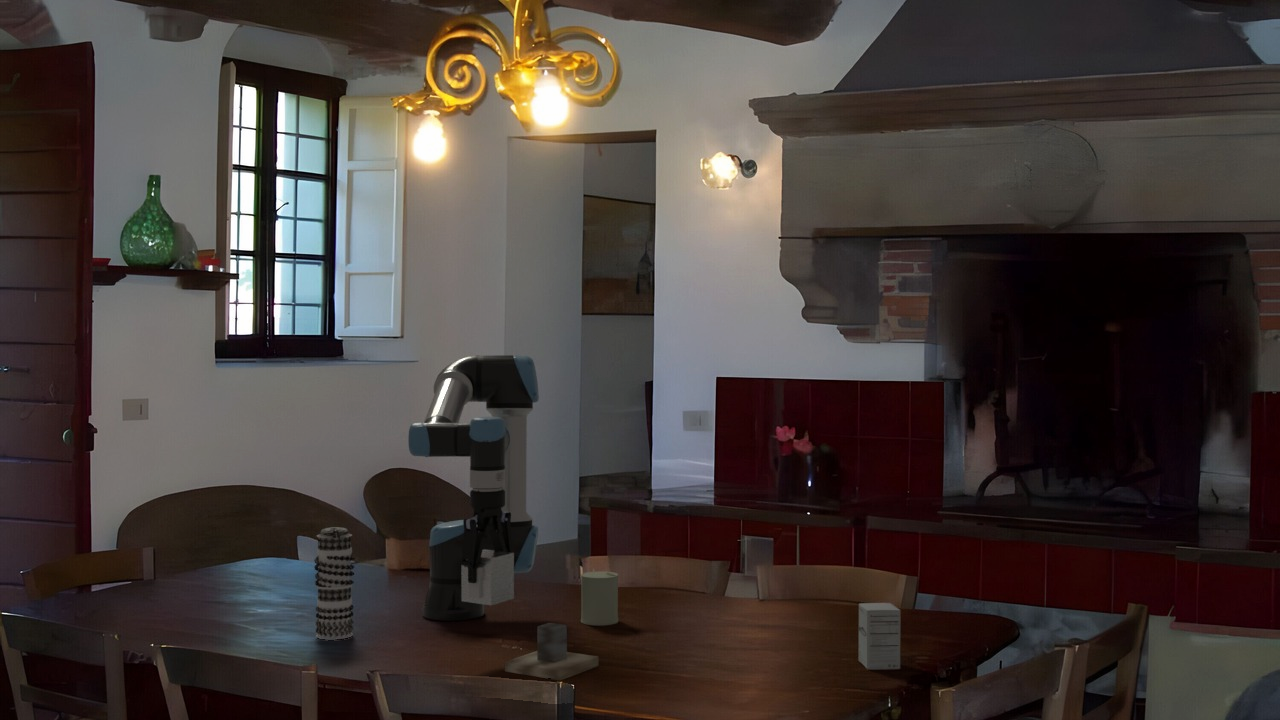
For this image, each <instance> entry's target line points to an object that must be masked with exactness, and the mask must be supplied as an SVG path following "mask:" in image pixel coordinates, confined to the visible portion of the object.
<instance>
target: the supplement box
mask: <svg viewBox="0 0 1280 720" xmlns="http://www.w3.org/2000/svg"><path fill="white" fill-rule="evenodd" d="M901 622H902V621H901V609H899V608H898V607H897V606H895V604H893V603H890V602H868V603H867V602H865V603H858V662H860V663H861V664H862V665H863V666H864V667H865V669H866V670H868V671H869V670H873V671H874V670H900V669H901Z"/></svg>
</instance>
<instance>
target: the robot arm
mask: <svg viewBox="0 0 1280 720" xmlns="http://www.w3.org/2000/svg"><path fill="white" fill-rule="evenodd" d="M539 398H540V397H539V385H538V378H537V372H536V366H535V362H534V360H533V358H531V356H527V355H519V354H518V355H516V354H512V355H511V354H510V355H509V354H508V355H507V354H505V355H498V354H497V355H474V354H473V355H469V356H465V357H462V358H459V359H457V360H455V361H453V362H451V363H450V364H449V365H447V366H445V368H444V369H442V370H441V371H440V372H439V374H438V375H437V377H436V379H435V381H434V384H433V398H432V401H431V403H430V405H429V408H428V410H427V413H426V416H425V418H424V421H420V422H414V423H411V424H410V426H409V429H408V435H407V436H408V437H407V438H408V441H407V442H408V451H409V454H411V456H414V457H425V458H431V457H432V458H436V457H437V458H439V457H440V458H441V457H443V458H445V457H454V458H455V457H456V458H457V457H462V458H463V457H464V458H465V457H466V458H467V457H469V458H470V459H469V463H470V466H469V487H470V489H471V490H470V491H469V507H471V508H472V509H473V514H472V517H471V518H464V519H459V520H453V521H446V522H443V523H439V524H435V526H433V527H432V528H431V529H430V534H429V535H430V536H429V544H428V546H429V586H428V590H427V592H426V596H425V599H424V603H423V605H422V616H423V618H426V619H429V620H434V621H445V622H447V621H448V622H449V621H450V622H451V621H467V620H472V619H478V618H480V617H483V616H484V615H485V604H478V603H471V602H464V601H462V579H461V565H463V566H464V567H468V582H469V597H471V598H478V599H480V598H481V568H480V567H478V566H479V562H480V558H481V554H482V550H484V549H486V550H494V551H502V552H511V553H514V574H522V573H525V574H526V573H529V572H530V571H531V570H532V568H533V567H534V562H535V557H536V552H537V543H538V535H539V533H538V532H539V527H538V526H537V525H535V524H534V525H533V517H532V516H531V515H530V514H528V512H527V437H528V436H527V434H528V433H527V423H528V422H527V417H528V415H529V414H530V413H531V412H532V411H533V409H534V407H533V405H534V404H535V403H537V402H538V401H539V400H540V399H539ZM470 402H471V403H472V402H473V403H475V402H477V403H485V406H486V407H485V409H486V411H487V412H488V413H489V414H490V415H491V416H477V417H473V418H472V419H471V420H470V422H460V420H461V417H462V414H463V411H464V408H465V405H467V404H468V403H470ZM533 403H534V404H533ZM461 555H462V556H461ZM473 561H474V562H473Z"/></svg>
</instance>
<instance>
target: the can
mask: <svg viewBox="0 0 1280 720" xmlns="http://www.w3.org/2000/svg"><path fill="white" fill-rule="evenodd" d="M580 580H581V582H580V583H581V584H580V585H581V592H580V593H581V600H580V601H581V602H580V603H581V606H580V607H581V609H580V610H581V611H580V612H581V615H580V616H581V617H580V618H581V619H580V622H581V624H584V625H588V626H597V627H598V626H602V627H603V626H612V625H615V624H618V623H619V610H618V609H619V605H618V603H619V597H618V596H619V592H618V591H619V590H618V588H619V574H618V573H617V572H613V571H603V570H602V571H601V570H600V571H597V570H596V571H586V572H583V573H581V574H580Z"/></svg>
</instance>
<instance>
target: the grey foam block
mask: <svg viewBox="0 0 1280 720" xmlns="http://www.w3.org/2000/svg"><path fill="white" fill-rule="evenodd" d="M461 556H462V555H461ZM473 562H474V561H473ZM478 567H480V568H481V598H480V599H478V598H471V597H469V582H468V567H464V566H463V565H461V579H462V601H464V602H471V603H478V604H484V606H485V605H486V606H494V605H497V604H501V603H504V602H507V601H511V600H514V599H515V573H514V553H511V552H502V551H494V550H486V549H484V550H482V554H481V558H480V562H479V566H478Z"/></svg>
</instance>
